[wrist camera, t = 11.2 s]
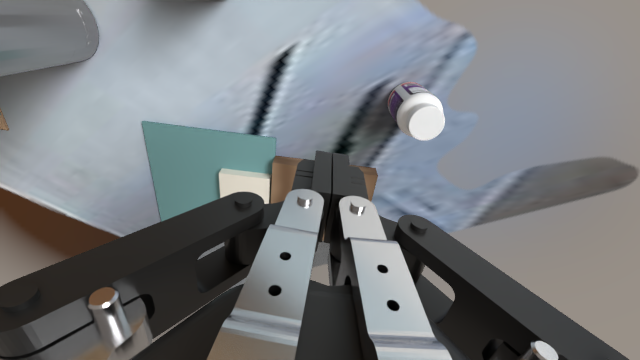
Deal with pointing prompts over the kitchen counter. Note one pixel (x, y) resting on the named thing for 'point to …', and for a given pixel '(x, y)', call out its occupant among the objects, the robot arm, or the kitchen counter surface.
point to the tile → (245, 183)
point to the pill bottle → (416, 111)
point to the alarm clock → (3, 122)
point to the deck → (286, 172)
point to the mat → (199, 162)
